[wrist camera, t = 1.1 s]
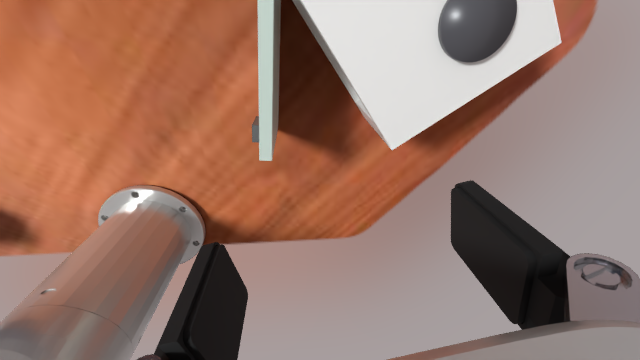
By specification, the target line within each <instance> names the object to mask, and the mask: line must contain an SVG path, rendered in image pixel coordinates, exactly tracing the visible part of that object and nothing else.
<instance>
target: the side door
mask: <svg viewBox="0 0 640 360" xmlns="http://www.w3.org/2000/svg"><path fill="white" fill-rule="evenodd" d="M280 21H281V0H258V72H259V116H256V118H255V120H254V122H253V124H252V142H259V158H260V160H264V161H272V157H273V152H274V147H275V142H276V137H277V132H278V114H279V67H280Z"/></svg>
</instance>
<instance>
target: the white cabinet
mask: <svg viewBox="0 0 640 360" xmlns="http://www.w3.org/2000/svg"><path fill="white" fill-rule="evenodd" d="M292 2H293V3H294V5H295V6H296V8H297V10H298V11H299V13H300V14H301V16H302V18H303V19H304V21H305V23H306V24H307V26H308V27H309V29H310V31H311V32H312V34H313V35H314V37H315V39H316V40H317V42H318V44H319V45H320V47H321V48H322V50H323V52H324V53H325V55H326V56H327V58H328V60H329V61H330V63H331V64H332V66H333V68H334V69H335V71H336V73H337V74H338V76H339V77H340V79H341V81H342V82H343V84H344V85H345V87H346V89H347V90H348V92H349V94H350V95H351V97H352V98H353V100H354V102H355V103H356V105H357V106H358V108H359V110H360V111H361V113H362V114H363V116H364V118H365V119H366V120H367V121H368V123H369V124H370V125H371V126H372V127H373V129H374V130H375V131H376V132H377V133H378V134H379V136H380V137H381V138H382V139H383V140H384V142H385V143H386V144H387V145H388V146H389V148H390V149H391V150H393V149H395V148H396V147H398V146H400V145H401V144H403V143H404V142H406V141H407V140H409V139H411V138H412V137H414V136H415V135H417V134H418V133H420V132H422V131H423V130H425V129H426V128H428V127H429V126H431V125H433V124H434V123H436V122H437V121H439V120H440V119H442V118H444V117H445V116H447V115H448V114H450V113H452V112H453V111H455V110H456V109H458V108H459V107H461V106H463V105H464V104H466V103H467V102H469V101H470V100H472V99H474V98H475V97H477V96H478V95H480V94H481V93H483V92H485V91H486V90H488V89H489V88H491V87H492V86H494V85H496V84H497V83H499V82H500V81H502V80H503V79H505V78H507V77H508V76H510V75H511V74H513V73H514V72H516V71H518V70H519V69H521V68H522V67H524V66H525V65H527V64H529V63H530V62H532V61H533V60H535V59H536V58H538V57H540V56H541V55H543V54H544V53H546V52H548V51H549V50H551V49H552V48H554V47H555V46H557V45H559V44H560V43H562V42H561V38H560V33H559V28H558V23H557V18H556V13H555V8H554V4H553V0H292Z"/></svg>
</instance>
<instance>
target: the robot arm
mask: <svg viewBox="0 0 640 360" xmlns="http://www.w3.org/2000/svg"><path fill="white" fill-rule="evenodd" d="M98 223H99V228H97V229H96V230H95V231H94V232H93V233H92V234H91V235H90V236H89V237H88V238H87V239H86V240H85V241H84V242H83V243H82V244H81V245H80V246H79V247H78V248H77V249H76V250H75V251H74V252H73V253H72V254H71V255H70V256H69V257H67V258H66V259H65V261H64V262H62V263H61V264H60V265H59V266H58V267H57V268H56V269H55V270H54V271H53V272H52V273H51V274H50V275H49V276H48V277H47V278H46V279H45V280H44V281H43V282H42V283H41V284H40V285H38V286H37V287H36V288H35V289H34V290H33V291H32V292H31V293H30V294H29V295H28V296H27V297H26V298H25V299H24V300H23V301H22V302H21V303H20V304H19V305H18V306H17V307H16V308H15V309H14V310H13V311H12V312H11V313H10V314H9V315H7V316H6V317H5V318H4V319H3V320H2V321H1V322H0V360H130V358H131V356H132V355H133V353H134V351H135V349H136V347H137V345H138V343H139V341H140V339H141V337H142V335H143V333H144V331H145V329H146V328H147V326H148V324H149V322H150V320H151V318H152V316H153V314H154V312H155V310H156V308H157V306H158V304H159V302H160V300H161V298H162V296H163V294H164V292H165V291H166V289H167V287H168V285H169V282H170V281H171V279H172V277H173V275H174V273H175V271H176V269H177V267H178V265H179V264H181V263H184V262H186V261H188V260H190V259H191V258H193V257H194V256H195V255H196V254H197V253H198V251H199V253H198V255H197V257H196V260H195V262H194V264H193V266H192V269H191V271H190V273H189V275H188V278H187V280H186V282H185V285H184V287H183V289H182V292H181V294H180V296H179V298H178V301H177V303H176V305H175V307H174V310H173V312H172V314H171V316H170V319H169V321H168V323H167V326H166V328H165V330H164V332H163V335H162V337H161V339H160V341H159V344H158V346H157V349H156V351H155V353H154V354H151V355H145V356H143V357H140V358H138V359H137V360H237V358H238V351H239V346H240V340H241V334H242V329H243V322H244V317H245V310H246V305H247V299H248V293H247V289H246V287H245V285H244V283H243V281H242V279H241V277H240V275H239V273H238V271H237V270H236V267H235V266H234V264H233V262H232V260H231V258H230V256H229V254H228V252H227V250H226V248H225V246H224V245H220V244H219V243H218V242H215V243H211V244H207V245H203V246H202V244H203V242H204V239H205V225H204V221H203V219H202V217H201V215H200V213H199V212H198V211H197V209H196V208H195V207H194V206H193V205H192V204H191V203H190V202H189V201H188V200H186V199H185V198H183V197H182V196H180V195H179V194H177V193H175V192H173V191H170V190H167V189H164V188H161V187H156V186H150V185H137V186H131V187H127V188H124V189H121V190H119V191H117V192H116V193H114V194H113V195H112V196H111V197H109V198H108V199H107V200H106V201H105V202H104V204H103V205H102V206H101V209H100V211H99V216H98ZM451 243H452V246H453V248H454V249H455V251H456V252H457V253H458V255H459V256H460V257H461V258H462V260H463V261H464V262H465V264H466V265H467V266H468V267H469V269H470V270H471V271H472V273H473V274H474V275H475V276H476V278H477V279H478V280H479V282H480V283H481V284H482V285H483V287H484V288H485V289H486V290H487V292H488V293H489V294H490V296H491V297H492V298H493V299H494V301H495V302H496V303H497V305H498V306H499V307H500V309H501V310H502V311H503V312H504V314H505V315H506V316H507V318H508V319H509V320H510V321H511V322H512V323H513V324H518V325H519V326H520V328H521V329H522V330H519V331H514V332H509V333H504V334H499V335H495V336H490V337H486V338H481V339H477V340H472V341H468V342H463V343H459V344H454V345H450V346H445V347H441V348H437V349H432V350H428V351H423V352H418V353H414V354H410V355H405V356H401V357H396V358H392V359H388V360H640V279H639V277H638V275H637V274H636V273H635V272H634V271H633V270H631V268H629V267H628V266H626V265H624V264H623V263H621V262H619V261H616V260H614V259H612V258H609V257H606V256H602V255H597V254H589V253H584V254H577V255H574V256H571V257H570V256H569V255H568V254H566V253H565V252H564V251H563V250H562V249H560V248H559V247H558V246H556V245H555V244H554V243H553V242H551V241H550V240H549V239H547V238H546V237H545V236H544V235H542V234H541V233H540V232H538V231H537V230H536V229H535V228H533V227H532V226H531V225H529V224H528V223H527V222H526V221H524V220H523V219H522V218H520V217H519V216H518V215H516V214H515V213H514V212H513V211H511V210H510V209H508V208H507V207H506V206H505V205H504V204H502V203H501V202H500V201H498V200H497V199H496V198H495V197H493V196H492V195H491V194H489V193H488V192H487V191H486V190H484V189H483V188H482V187H480V186H479V185H478V184H477V183H475V182H474V181H466V182H462V183H458V184H456V185H455V188H454V189H452V191H451ZM201 246H202V247H201Z"/></svg>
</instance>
